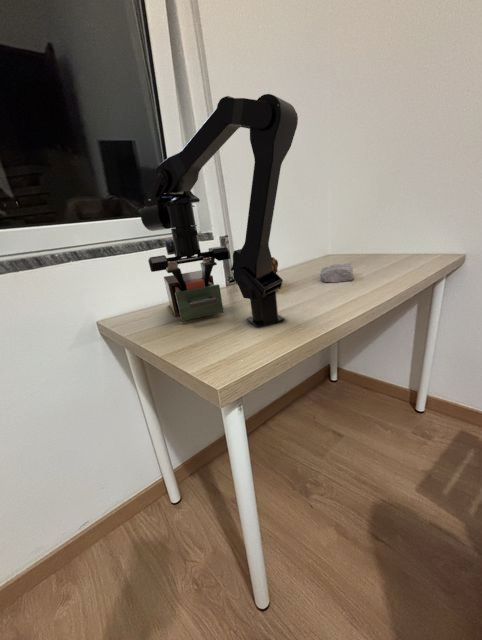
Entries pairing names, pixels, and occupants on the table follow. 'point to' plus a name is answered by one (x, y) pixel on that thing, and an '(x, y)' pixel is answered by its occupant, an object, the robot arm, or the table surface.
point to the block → (194, 283)
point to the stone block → (337, 273)
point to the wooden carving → (274, 265)
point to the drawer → (198, 301)
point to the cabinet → (172, 281)
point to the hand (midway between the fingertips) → (196, 294)
